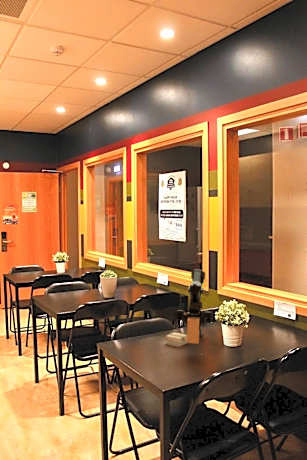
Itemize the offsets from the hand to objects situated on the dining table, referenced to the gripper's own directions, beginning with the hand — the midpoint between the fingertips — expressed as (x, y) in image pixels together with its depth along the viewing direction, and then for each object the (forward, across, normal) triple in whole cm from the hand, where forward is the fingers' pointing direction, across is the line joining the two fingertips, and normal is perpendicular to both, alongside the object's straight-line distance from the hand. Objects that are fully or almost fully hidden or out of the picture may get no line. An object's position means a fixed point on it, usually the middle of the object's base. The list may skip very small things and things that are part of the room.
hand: (193, 329), depth 221 cm
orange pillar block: (+4, 0, +6) cm, 7 cm away
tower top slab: (-4, -10, +20) cm, 22 cm away
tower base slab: (-2, -10, +21) cm, 24 cm away
